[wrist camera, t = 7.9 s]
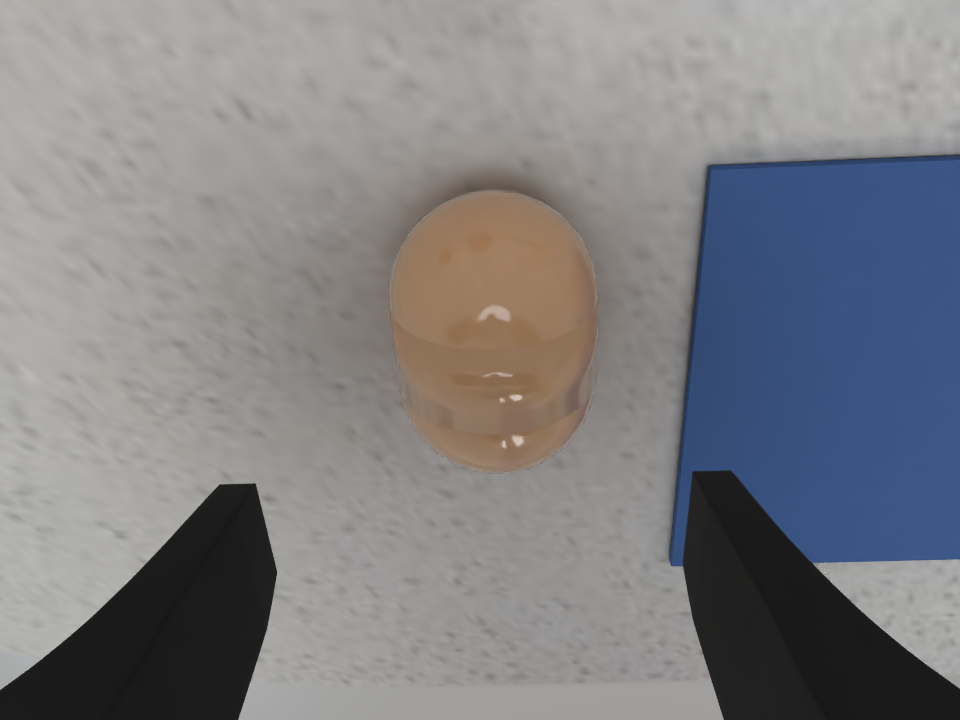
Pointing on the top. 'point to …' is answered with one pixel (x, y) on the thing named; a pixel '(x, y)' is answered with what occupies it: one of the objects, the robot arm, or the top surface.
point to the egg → (495, 330)
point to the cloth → (831, 354)
